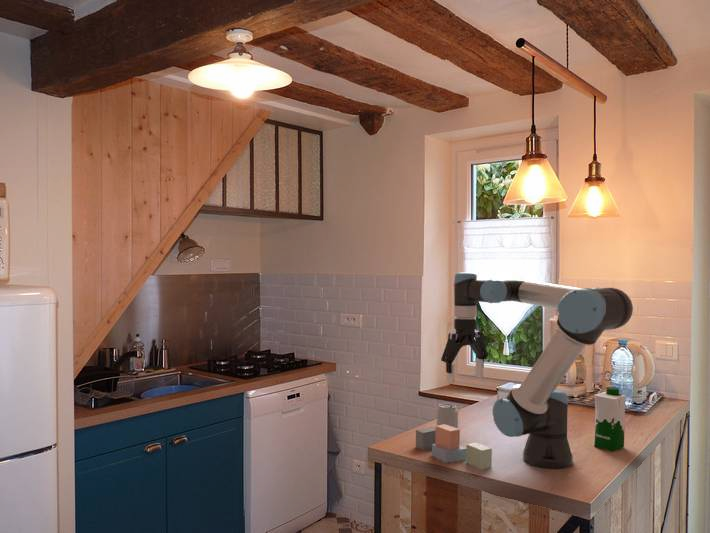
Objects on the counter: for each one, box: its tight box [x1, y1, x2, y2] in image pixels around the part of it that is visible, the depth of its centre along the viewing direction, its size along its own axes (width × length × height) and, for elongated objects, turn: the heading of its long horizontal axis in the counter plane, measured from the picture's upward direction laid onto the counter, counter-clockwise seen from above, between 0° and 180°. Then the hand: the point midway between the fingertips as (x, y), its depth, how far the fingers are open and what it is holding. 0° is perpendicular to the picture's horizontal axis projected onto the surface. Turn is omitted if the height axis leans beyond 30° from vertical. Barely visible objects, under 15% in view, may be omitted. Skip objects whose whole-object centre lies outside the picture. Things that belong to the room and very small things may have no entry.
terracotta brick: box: [435, 424, 461, 450], centre depth 195 cm, size 7×4×6 cm, turn 34°
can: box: [436, 403, 459, 429], centre depth 215 cm, size 8×8×12 cm
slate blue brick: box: [431, 444, 467, 464], centre depth 195 cm, size 8×8×4 cm
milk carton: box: [593, 386, 627, 453], centre depth 206 cm, size 9×9×20 cm
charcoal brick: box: [415, 426, 436, 451], centre depth 205 cm, size 7×4×6 cm, turn 121°
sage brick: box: [465, 441, 493, 470], centre depth 188 cm, size 7×4×6 cm, turn 31°
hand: (465, 380), depth 205 cm, fingers open, 13 cm apart
